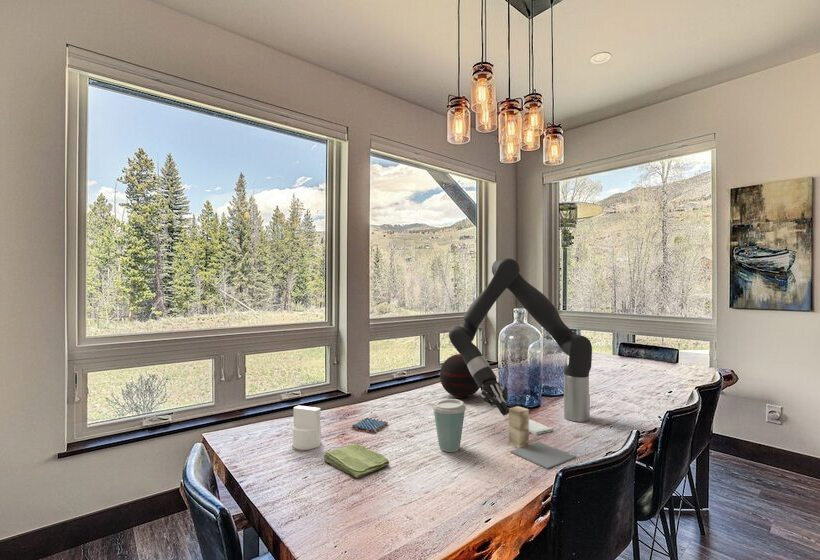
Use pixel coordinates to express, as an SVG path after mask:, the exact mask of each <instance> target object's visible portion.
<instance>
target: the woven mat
mask: <svg viewBox="0 0 820 560" xmlns="http://www.w3.org/2000/svg"><path fill="white" fill-rule="evenodd" d="M388 426H389V423H388V421H387V420H384V421H383V420H382V419H380V420H379V419H376V418H369V417H366V418H363V419H361V420H358V421H357V422H356V423H354V424H352V426H351V430H353V431H358V432H363V433H366V434H367V433H368V434H371V435H372V434H373V435H375V434H376V433H378V432H379V431H381V430H383V429H384V428H387V427H388Z"/></svg>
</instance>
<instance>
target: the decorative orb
mask: <svg viewBox="0 0 820 560" xmlns="http://www.w3.org/2000/svg"><path fill="white" fill-rule="evenodd" d="M439 378H440V379H439V380H440V383H441V385H442V388H443V389H444V390H445V392H446V393H448V394H449V395H451V396H453V397H455V398H459V399H460V398H461V399H465V398H469V397H471V396H473V395H475V394H476V393H477V392H478V391H479V390H480V388H479V387H478V385H477V384H476V382H475V380H474V378H473V377H472V375H471V373H470V371H469V369H468V367H467V365H466V363H465V361H464V360H463V358H462V356H461V355H460V353H457V354H456V353H455V354H454V355H451V356H449V357H448V358H447V359H445V361H444V362H443V363H442V365H441V367H440V371H439Z"/></svg>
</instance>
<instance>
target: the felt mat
mask: <svg viewBox="0 0 820 560" xmlns="http://www.w3.org/2000/svg"><path fill="white" fill-rule="evenodd" d="M510 452H511V454H513V455H515V456H517V457H519V458H522V459H524V460H527V461H528V462H531V463H532V464H534V465H537V466H539V467H542V468H544V469H546V470H549V469H552V468H554V467H556V466H559V465H561V464H564V463H565V462H569V461H571V460H574V459H576V458H577V456H576V455H573V454H571V453H569V452H566V451H563V450H560V449H558V448H556V447H554V446H551V445H549V444H546V443H543V442H540V441H537V442H533V443H530V444H529V445H527V446H524V447H521V448H516V449H513V450H510Z"/></svg>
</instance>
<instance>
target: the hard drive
mask: <svg viewBox="0 0 820 560" xmlns="http://www.w3.org/2000/svg"><path fill="white" fill-rule="evenodd" d="M551 431H552V432H554V431H553V428H551V427H549V426H547V425H545V424H542V423H539V422H538V421H535V420H534V419H533V420H532V419H530V418H529V433H530V432H531V433H530V434H533V435H535V434H536V435H535V436H537V434H539V435H541V433H543V434H546V432H547V433H550V432H551Z"/></svg>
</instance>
